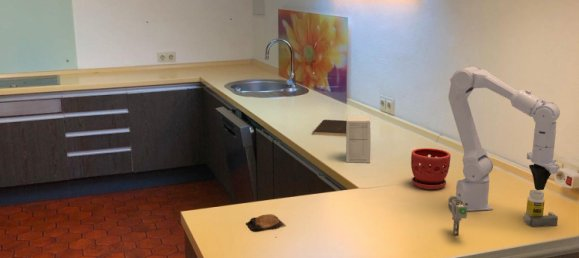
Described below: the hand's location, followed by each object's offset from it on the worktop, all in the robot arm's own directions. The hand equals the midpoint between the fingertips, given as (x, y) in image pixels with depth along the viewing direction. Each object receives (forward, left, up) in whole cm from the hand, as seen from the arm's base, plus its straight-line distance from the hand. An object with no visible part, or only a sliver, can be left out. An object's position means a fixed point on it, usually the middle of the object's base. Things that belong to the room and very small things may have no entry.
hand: (539, 189), depth 183 cm
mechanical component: (-27, -7, -10) cm, 30 cm away
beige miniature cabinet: (-39, +67, -10) cm, 78 cm away
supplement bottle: (0, +1, -10) cm, 10 cm away
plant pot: (-21, +34, -10) cm, 41 cm away
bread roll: (-80, +7, -10) cm, 81 cm away
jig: (0, -3, -10) cm, 10 cm away
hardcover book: (-40, +115, -10) cm, 122 cm away
